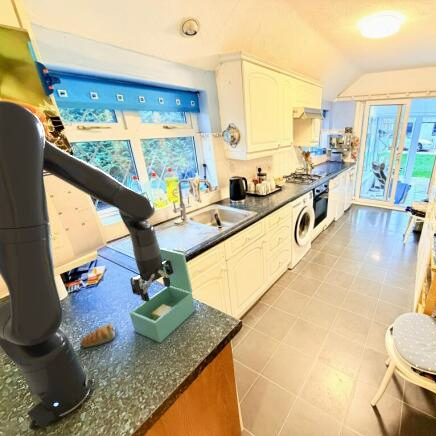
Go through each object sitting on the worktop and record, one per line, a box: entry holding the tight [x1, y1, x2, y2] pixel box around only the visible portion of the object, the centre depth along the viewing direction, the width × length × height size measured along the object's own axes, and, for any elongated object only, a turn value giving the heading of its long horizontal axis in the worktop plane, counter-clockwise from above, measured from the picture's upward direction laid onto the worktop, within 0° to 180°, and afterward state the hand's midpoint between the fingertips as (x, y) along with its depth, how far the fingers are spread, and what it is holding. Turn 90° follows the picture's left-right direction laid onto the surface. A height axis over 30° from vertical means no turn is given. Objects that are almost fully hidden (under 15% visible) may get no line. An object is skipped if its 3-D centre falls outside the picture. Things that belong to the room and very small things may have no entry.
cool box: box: [129, 286, 196, 343], centre depth 89 cm, size 17×13×9 cm
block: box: [152, 304, 172, 321], centre depth 89 cm, size 5×5×5 cm
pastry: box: [80, 323, 116, 348], centre depth 82 cm, size 9×7×4 cm
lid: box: [160, 247, 193, 293], centre depth 93 cm, size 17×13×5 cm
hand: (157, 293), depth 85 cm, fingers open, 8 cm apart
